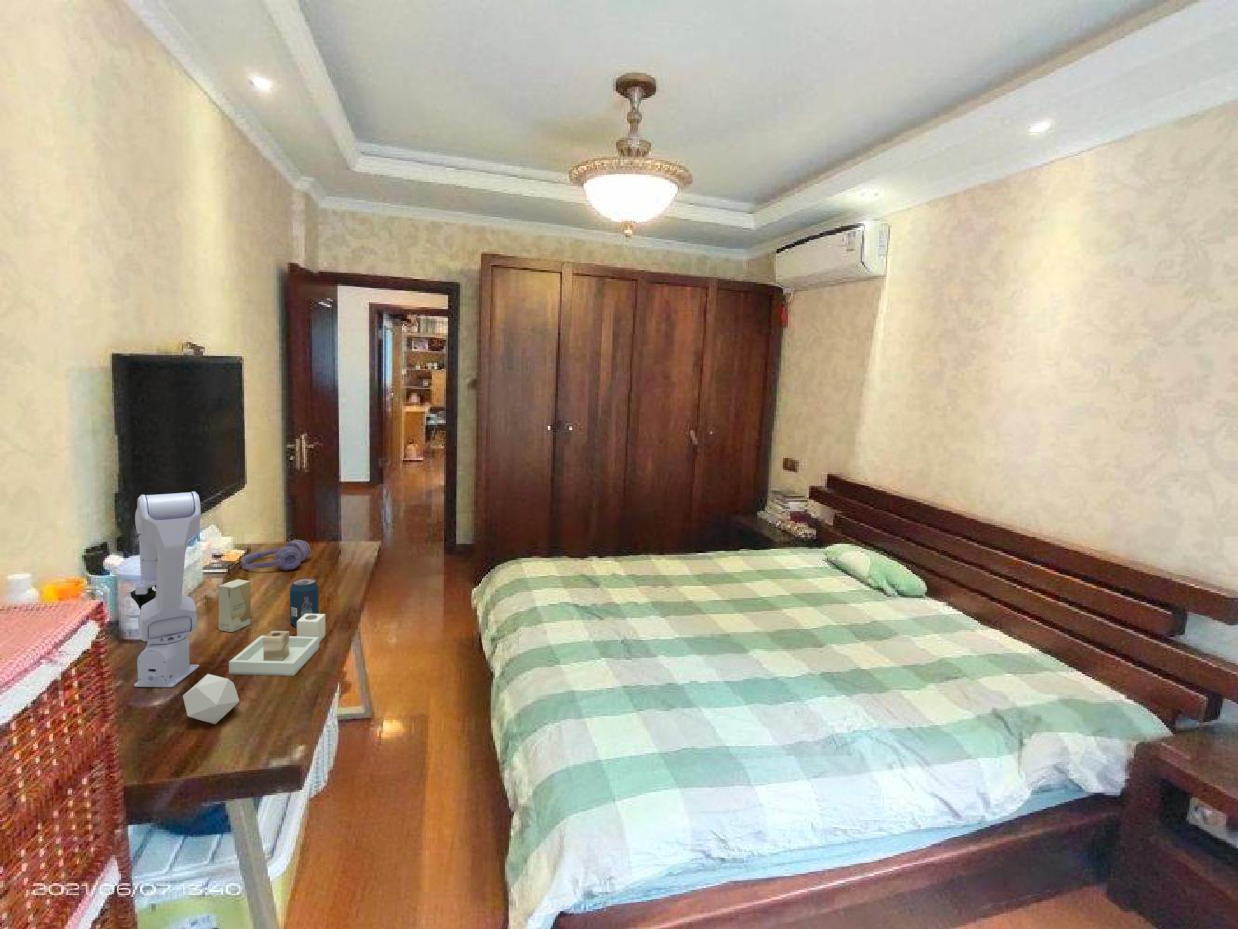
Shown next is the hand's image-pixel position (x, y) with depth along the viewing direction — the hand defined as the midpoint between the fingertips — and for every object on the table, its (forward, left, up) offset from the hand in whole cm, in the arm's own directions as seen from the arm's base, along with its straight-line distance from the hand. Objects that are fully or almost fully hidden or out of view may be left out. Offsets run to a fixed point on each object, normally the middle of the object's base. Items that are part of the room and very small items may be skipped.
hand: (157, 612), depth 142 cm
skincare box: (+14, -10, -10) cm, 20 cm away
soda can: (+18, -26, -10) cm, 33 cm away
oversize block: (+8, -32, -10) cm, 34 cm away
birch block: (-4, -29, -9) cm, 31 cm away
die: (-28, -28, -10) cm, 41 cm away
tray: (-4, -29, -9) cm, 31 cm away
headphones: (+65, +4, -10) cm, 66 cm away
